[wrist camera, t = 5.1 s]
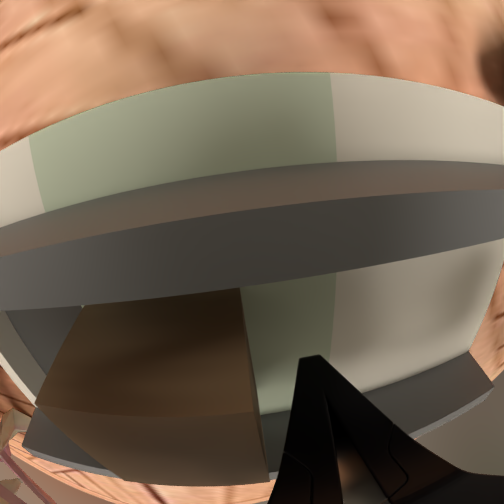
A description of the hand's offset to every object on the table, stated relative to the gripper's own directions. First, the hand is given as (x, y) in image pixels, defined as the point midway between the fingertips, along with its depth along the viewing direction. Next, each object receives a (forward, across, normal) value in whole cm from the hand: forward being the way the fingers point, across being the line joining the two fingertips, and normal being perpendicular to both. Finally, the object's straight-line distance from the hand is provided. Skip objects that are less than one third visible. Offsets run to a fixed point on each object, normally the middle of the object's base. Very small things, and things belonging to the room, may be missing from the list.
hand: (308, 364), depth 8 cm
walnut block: (+1, +4, 0) cm, 4 cm away
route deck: (+3, +2, 0) cm, 4 cm away
